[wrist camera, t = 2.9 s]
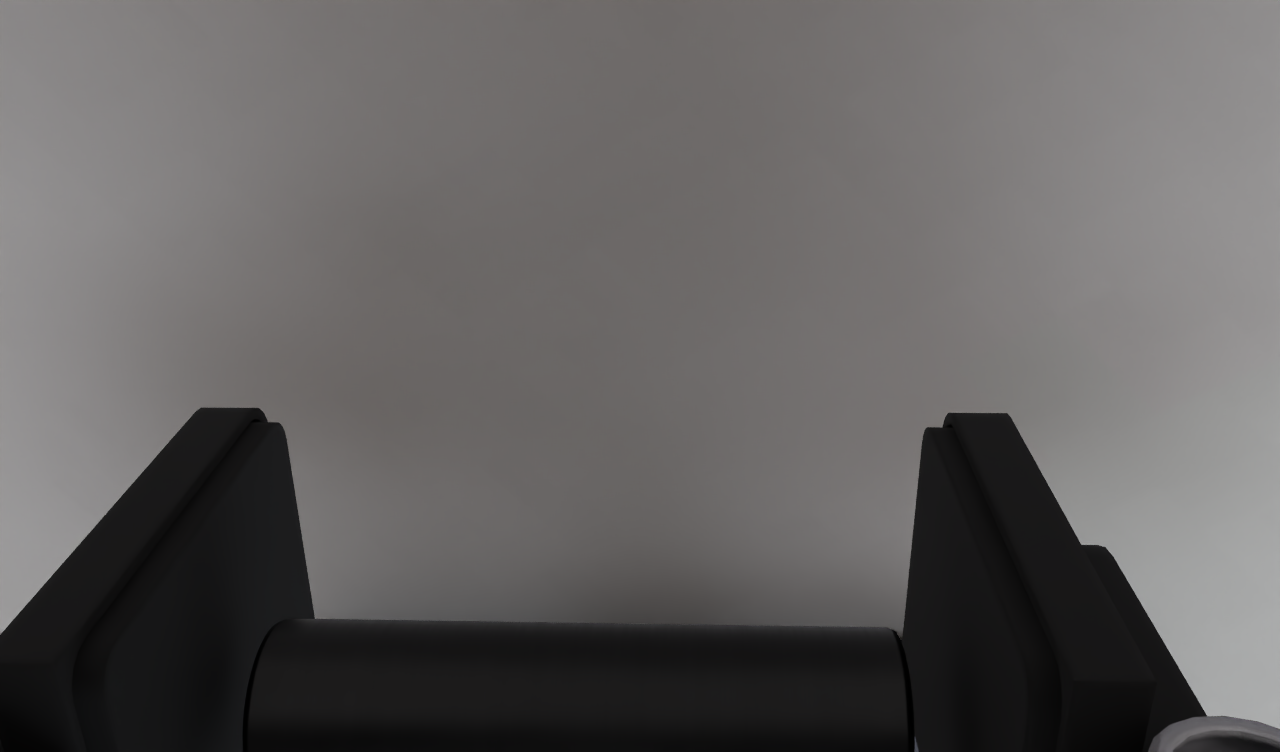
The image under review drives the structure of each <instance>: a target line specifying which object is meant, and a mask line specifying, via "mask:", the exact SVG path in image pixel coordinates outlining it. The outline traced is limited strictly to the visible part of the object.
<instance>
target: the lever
mask: <svg viewBox="0 0 1280 752" xmlns="http://www.w3.org/2000/svg"><path fill="white" fill-rule="evenodd" d="M243 752H915V729H914V709H913V697H912V688H911V680H910V674H909V668H908V663H907V658H906V654H905V651H904V648H903V645H902V643H901V640H900V638H899V636H898V634H897V632H895V631H894V630H892V629H889V628H882V627H815V626H748V625H681V624H615V623H548V622H481V621H415V620H348V619H285V620H283V621H280V622H278V623H276V624H275V625H273V626H272V627H271V628H270V630H269V631H268V632H267V634H266V635H265V637H264V639H263V641H262V643H261V645H260V647H259V649H258V652H257V654H256V657H255V660H254V663H253V667H252V670H251V674H250V678H249V682H248V686H247V692H246V697H245V705H244V714H243Z"/></svg>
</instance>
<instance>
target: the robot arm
mask: <svg viewBox="0 0 1280 752" xmlns="http://www.w3.org/2000/svg"><path fill="white" fill-rule="evenodd" d="M285 619H315V617H314V610H313V604H312V598H311V591H310V585H309V579H308V572H307V566H306V560H305V553H304V547H303V541H302V534H301V528H300V522H299V515H298V509H297V503H296V496H295V490H294V484H293V477H292V471H291V464H290V458H289V452H288V445H287V439H286V435H285V431H284V429H283V427H282V425H281V424H280V423H279V422H268V421H267V419H266V417H265V414H264V412H263V411H261V410H260V409H259V408H200V409H199V410H197V411H196V412H195V413H194V414H193V415H192V416H191V418H190V419H189V420H188V421H187V422H186V423H185V424H184V426H183V427H182V428H181V429H180V430H179V431H178V432H177V434H176V435H175V436H174V437H173V438H172V439H171V440H170V442H169V443H168V444H167V445H166V446H165V447H164V448H163V450H162V451H161V452H160V453H159V454H158V455H157V456H156V458H155V459H154V460H153V461H152V462H151V463H150V464H149V466H148V467H147V468H146V469H145V470H144V471H143V472H142V474H141V475H140V476H139V477H138V478H137V479H136V480H135V482H134V483H133V484H132V485H131V486H130V487H129V488H128V490H127V491H126V492H125V493H124V494H123V495H122V496H121V498H120V499H119V500H118V501H117V502H116V503H115V504H114V506H113V507H112V508H111V509H110V510H109V511H108V512H107V514H106V515H105V516H104V517H103V518H102V519H101V520H100V522H99V523H98V524H97V525H96V526H95V527H94V528H93V530H92V531H91V532H90V533H89V534H88V535H87V536H86V538H85V539H84V540H83V541H82V542H81V543H80V544H79V546H78V547H77V548H76V549H75V550H74V551H73V552H72V554H71V555H70V556H69V557H68V558H67V559H66V560H65V562H64V563H63V564H62V565H61V566H60V567H59V568H58V570H57V571H56V572H55V573H54V574H53V575H52V576H51V578H50V579H49V580H48V581H47V582H46V583H45V584H44V586H43V587H42V588H41V589H40V590H39V591H38V592H37V594H36V595H35V596H34V597H33V598H32V599H31V600H30V602H29V603H28V604H27V605H26V606H25V607H24V608H23V610H22V611H21V612H20V613H19V614H18V615H17V616H16V618H15V619H14V620H13V621H12V622H11V623H10V624H9V626H8V627H7V628H6V629H5V630H4V631H3V632H2V634H1V635H0V752H243V714H244V705H245V697H246V692H247V686H248V682H249V678H250V674H251V670H252V667H253V663H254V660H255V657H256V654H257V652H258V649H259V647H260V645H261V643H262V641H263V639H264V637H265V635H266V634H267V632H268V631H269V630H270V628H271V627H272V626H273V625H275V624H276V623H278V622H280V621H283V620H285ZM902 645H903V648H904V651H905V654H906V658H907V663H908V668H909V674H910V680H911V688H912V697H913V709H914V729H915V738H916V742H917V746H918V750H919V752H1280V729H1278V728H1275V727H1272V726H1269V725H1266V724H1263V723H1260V722H1258V721H1252V720H1245V719H1239V718H1233V717H1227V716H1210V717H1207V715H1206V713H1205V712H1204V710H1203V708H1202V707H1201V705H1200V703H1199V702H1198V700H1197V698H1196V696H1195V695H1194V693H1193V691H1192V690H1191V688H1190V686H1189V685H1188V683H1187V681H1186V679H1185V678H1184V676H1183V674H1182V673H1181V671H1180V669H1179V668H1178V666H1177V664H1176V662H1175V661H1174V659H1173V657H1172V656H1171V654H1170V652H1169V651H1168V649H1167V647H1166V646H1165V644H1164V642H1163V640H1162V639H1161V637H1160V635H1159V634H1158V632H1157V630H1156V629H1155V627H1154V625H1153V623H1152V622H1151V620H1150V618H1149V617H1148V615H1147V613H1146V612H1145V610H1144V608H1143V606H1142V605H1141V603H1140V601H1139V600H1138V598H1137V596H1136V595H1135V593H1134V591H1133V589H1132V588H1131V586H1130V584H1129V583H1128V581H1127V579H1126V578H1125V576H1124V574H1123V572H1122V571H1121V569H1120V567H1119V566H1118V564H1117V562H1116V561H1115V559H1114V557H1113V556H1112V555H1111V553H1110V552H1109V551H1108V550H1107V549H1106V547H1102V546H1099V545H1081V544H1080V542H1079V540H1078V538H1077V536H1076V535H1075V533H1074V531H1073V529H1072V527H1071V526H1070V524H1069V522H1068V520H1067V518H1066V516H1065V515H1064V513H1063V511H1062V509H1061V507H1060V506H1059V504H1058V502H1057V500H1056V498H1055V497H1054V495H1053V493H1052V491H1051V489H1050V488H1049V486H1048V484H1047V482H1046V480H1045V479H1044V477H1043V475H1042V473H1041V471H1040V469H1039V468H1038V466H1037V464H1036V462H1035V460H1034V459H1033V457H1032V455H1031V453H1030V451H1029V450H1028V448H1027V446H1026V444H1025V442H1024V441H1023V439H1022V437H1021V435H1020V433H1019V432H1018V430H1017V428H1016V426H1015V424H1014V422H1013V421H1012V419H1011V417H1010V416H1009V415H1008V414H1007V413H948V414H947V416H946V417H945V420H944V424H943V428H937V427H927V428H926V429H925V432H924V435H923V441H922V449H921V459H920V469H919V479H918V489H917V499H916V509H915V519H914V529H913V539H912V549H911V559H910V569H909V579H908V589H907V599H906V609H905V619H904V629H903V639H902Z"/></svg>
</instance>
